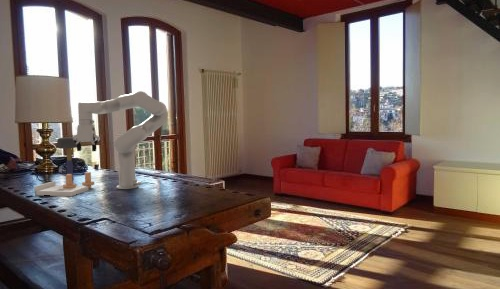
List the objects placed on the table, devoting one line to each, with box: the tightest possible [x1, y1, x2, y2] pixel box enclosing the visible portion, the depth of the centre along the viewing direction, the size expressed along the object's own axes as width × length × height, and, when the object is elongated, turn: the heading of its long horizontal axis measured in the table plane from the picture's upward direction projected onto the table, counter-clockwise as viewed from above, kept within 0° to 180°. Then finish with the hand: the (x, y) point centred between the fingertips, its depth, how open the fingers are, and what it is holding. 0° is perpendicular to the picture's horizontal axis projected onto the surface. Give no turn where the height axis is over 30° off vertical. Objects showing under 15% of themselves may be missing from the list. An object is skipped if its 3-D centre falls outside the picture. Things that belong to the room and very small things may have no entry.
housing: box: [34, 174, 89, 197], centre depth 209 cm, size 22×16×10 cm
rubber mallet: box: [56, 136, 77, 182], centre depth 241 cm, size 12×8×30 cm, turn 140°
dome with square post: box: [81, 171, 95, 190], centre depth 221 cm, size 7×7×10 cm
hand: (86, 151), depth 219 cm, fingers open, 9 cm apart
